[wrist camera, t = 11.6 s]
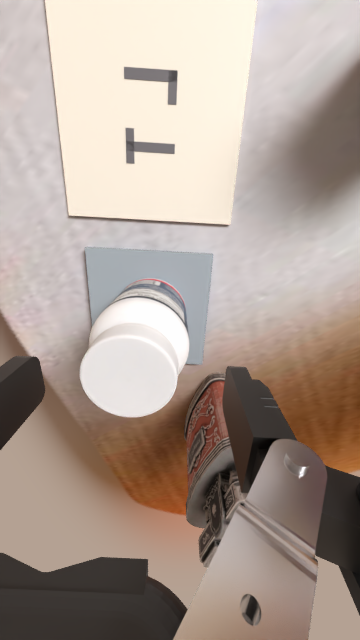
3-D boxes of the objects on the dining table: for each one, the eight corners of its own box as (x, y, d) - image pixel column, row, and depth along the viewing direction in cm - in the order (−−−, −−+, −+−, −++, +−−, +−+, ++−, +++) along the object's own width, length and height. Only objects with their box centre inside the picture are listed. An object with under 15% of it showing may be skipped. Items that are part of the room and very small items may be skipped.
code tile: (257, -4, 12) (258, -8, 12) (229, 224, 16) (230, 224, 15) (44, -21, 12) (41, -26, 11) (70, 215, 15) (68, 215, 15)
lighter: (205, 368, 20) (228, 487, 11) (240, 378, 20) (293, 501, 11) (177, 434, 23) (176, 574, 13) (209, 441, 23) (229, 583, 14)
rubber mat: (212, 253, 16) (213, 254, 16) (201, 361, 20) (202, 364, 19) (87, 246, 16) (84, 247, 16) (97, 356, 19) (95, 359, 19)
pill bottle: (162, 352, 19) (148, 448, 10) (105, 319, 18) (40, 396, 9) (199, 302, 17) (219, 366, 9) (140, 262, 16) (99, 293, 8)
